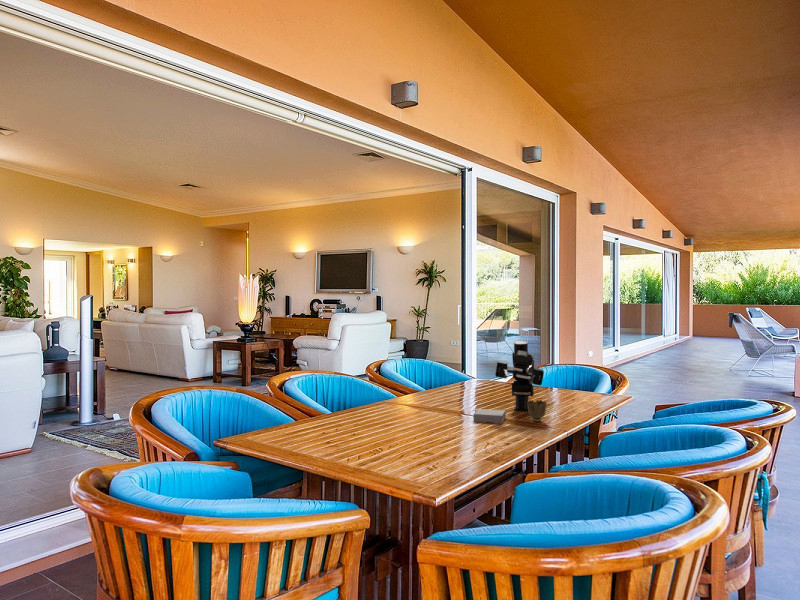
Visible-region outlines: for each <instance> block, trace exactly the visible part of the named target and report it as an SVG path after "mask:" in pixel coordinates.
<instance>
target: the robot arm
mask: <svg viewBox="0 0 800 600" xmlns="http://www.w3.org/2000/svg"><path fill="white" fill-rule="evenodd" d="M511 356H512V357H511V358H512V366H508V362H505V361H501V360H498V361H497V363H496V368H495V375H494V376H496V377H497V378H499V379H504V380H505V379H507V378H508V373H509V374H512V378H513V380H512V381H511V396H515V398H514V399H515V400H514V401H515V403H514V404H515V405H514V408H513V411H522V412H528V405H527V401H529V400H530V397H534V394H535V393H534V391H535V390H534V385H535V386H542V384H543V381H544V373H545V370H544V369H541V368H536V367H535V360H534V356H535V355H534V354H531V352H529V342H528V341H524V340H518V341H513V352H512V355H511Z"/></svg>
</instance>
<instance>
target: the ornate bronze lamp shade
mask: <svg viewBox="0 0 800 600" xmlns="http://www.w3.org/2000/svg"><path fill="white" fill-rule="evenodd" d="M527 405H528V411H527V412H528V413H527V414H528V415H529V417H530V418H531V421H532V422H533V423H541V422H542V421H543V419H542V418H544V417H545V414H546V410H547V401H545V400H544V401H543V400H541V399H540V400H536V401H534V400H532V399H529V401H527Z"/></svg>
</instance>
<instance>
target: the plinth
mask: <svg viewBox="0 0 800 600" xmlns="http://www.w3.org/2000/svg"><path fill="white" fill-rule="evenodd" d="M506 413H507V411H506V410H503V409H487V408H486V409H485V408H478V409H476V411H475V412H474V413H473V423H486V422H493V423H492V424H501V423H502V422H505V420H506V415H507V414H506ZM504 419H505V420H504ZM502 424H503V423H502Z"/></svg>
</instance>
